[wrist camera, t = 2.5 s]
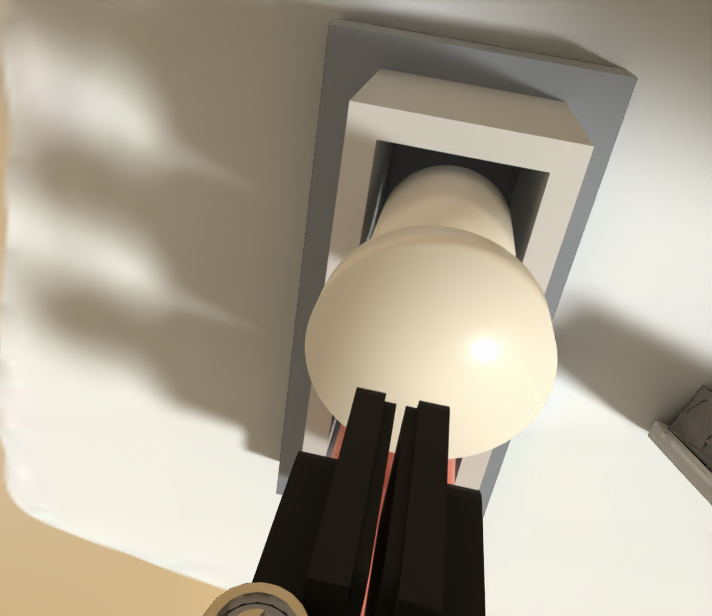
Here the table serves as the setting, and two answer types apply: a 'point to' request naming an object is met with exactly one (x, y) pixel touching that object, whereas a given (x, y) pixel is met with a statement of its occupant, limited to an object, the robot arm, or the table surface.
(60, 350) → the table surface
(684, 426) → the electrical switch
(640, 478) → the table surface
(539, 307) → the ivory plunger
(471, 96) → the grey compartment rack
